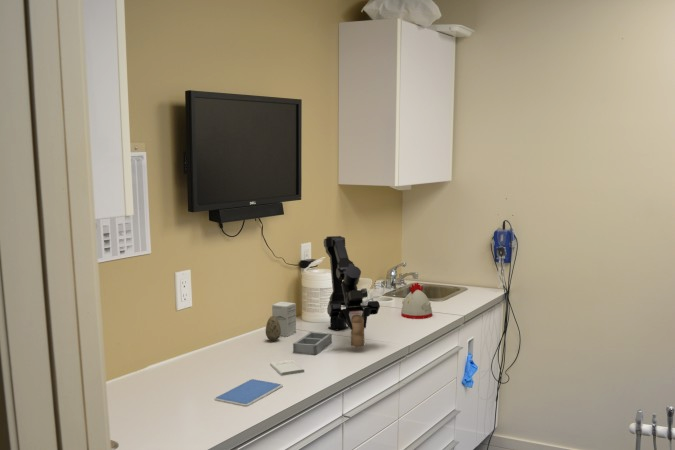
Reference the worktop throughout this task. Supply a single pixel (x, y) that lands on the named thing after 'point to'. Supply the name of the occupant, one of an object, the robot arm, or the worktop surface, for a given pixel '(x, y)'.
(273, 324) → the decorative egg
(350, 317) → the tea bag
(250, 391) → the tablet computer
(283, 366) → the external hard drive
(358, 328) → the dome-topped wooden peg
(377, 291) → the worktop surface
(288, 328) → the supplement box
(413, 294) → the grey beanie hat
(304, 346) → the grey divided tray
